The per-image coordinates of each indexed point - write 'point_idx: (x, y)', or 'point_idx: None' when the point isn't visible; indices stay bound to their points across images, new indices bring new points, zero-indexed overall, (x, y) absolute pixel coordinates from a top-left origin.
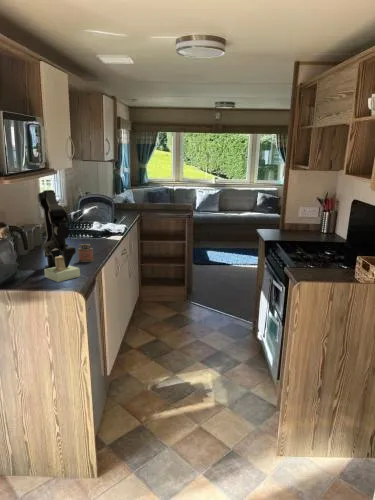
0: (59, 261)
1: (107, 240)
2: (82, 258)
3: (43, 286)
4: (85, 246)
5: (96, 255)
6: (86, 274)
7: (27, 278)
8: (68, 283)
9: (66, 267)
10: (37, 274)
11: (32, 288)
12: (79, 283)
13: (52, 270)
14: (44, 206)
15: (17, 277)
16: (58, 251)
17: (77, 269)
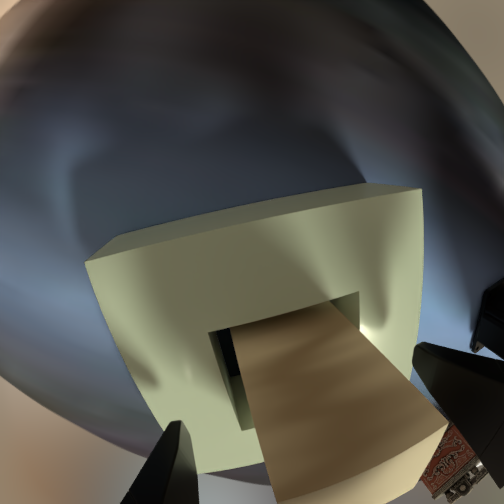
0: (265, 446)
1: None
2: (446, 441)
3: (70, 81)
4: (462, 488)
5: None
6: None
7: (409, 66)
8: (35, 298)
9: (170, 425)
10: (456, 171)
11: (91, 4)
12: (16, 356)
13: (307, 256)
14: None
15: (452, 48)
16: (501, 465)
17: None
